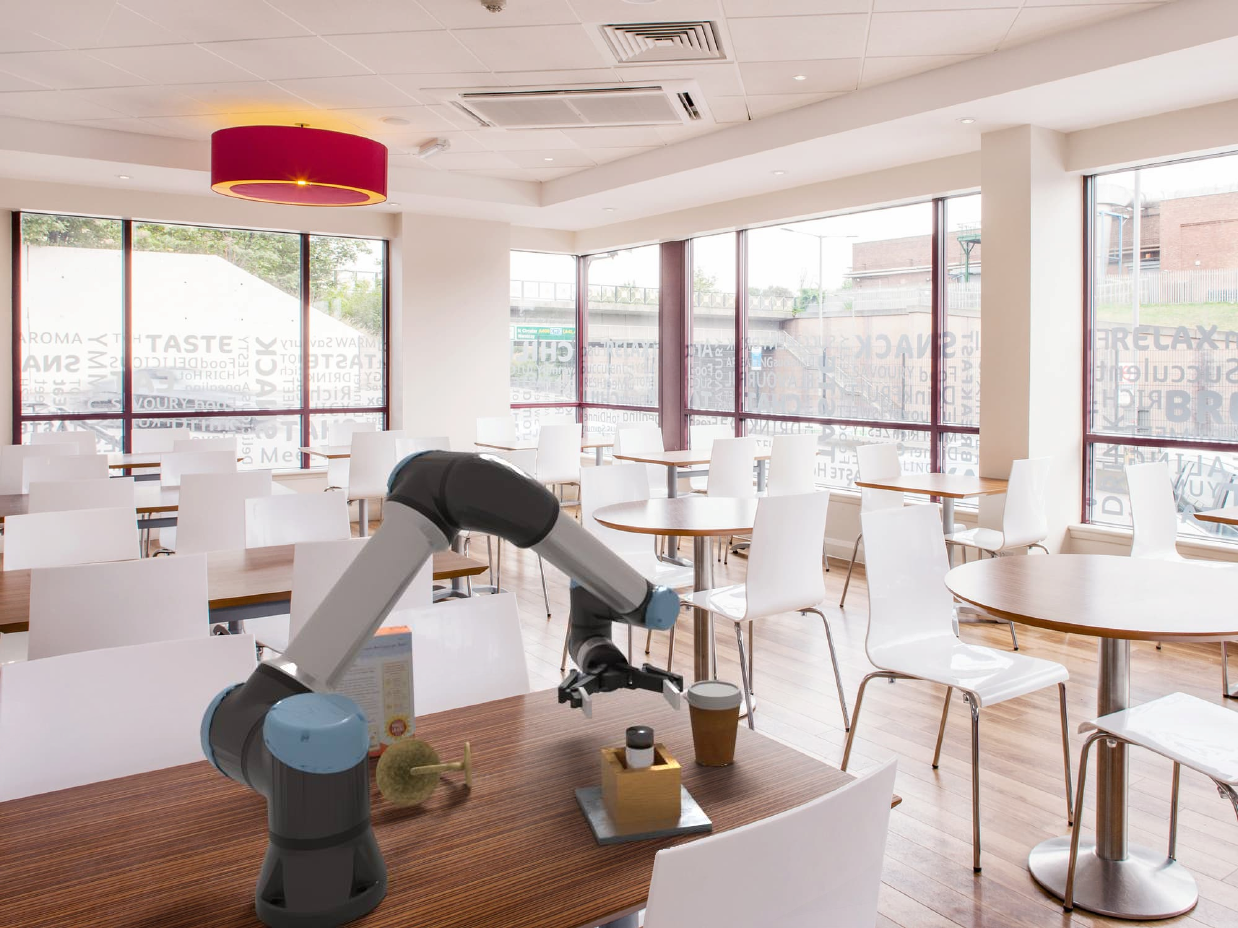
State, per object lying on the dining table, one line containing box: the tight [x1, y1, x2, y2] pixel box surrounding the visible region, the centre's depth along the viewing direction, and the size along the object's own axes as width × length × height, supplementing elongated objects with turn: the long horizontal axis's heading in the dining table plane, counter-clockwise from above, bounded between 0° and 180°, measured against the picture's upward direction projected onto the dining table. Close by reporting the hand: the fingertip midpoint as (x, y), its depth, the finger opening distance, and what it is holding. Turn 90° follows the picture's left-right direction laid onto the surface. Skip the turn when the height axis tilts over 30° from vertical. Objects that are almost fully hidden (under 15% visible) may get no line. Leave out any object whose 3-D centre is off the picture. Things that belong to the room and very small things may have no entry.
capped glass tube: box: [625, 725, 655, 769], centre depth 129 cm, size 4×4×12 cm
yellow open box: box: [574, 742, 713, 846], centre depth 129 cm, size 16×16×8 cm
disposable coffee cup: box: [685, 679, 744, 767], centre depth 147 cm, size 10×10×12 cm
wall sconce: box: [375, 738, 473, 807], centre depth 132 cm, size 14×10×25 cm
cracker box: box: [334, 624, 417, 759], centre depth 152 cm, size 14×6×21 cm, turn 111°
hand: (634, 705), depth 133 cm, fingers open, 13 cm apart
